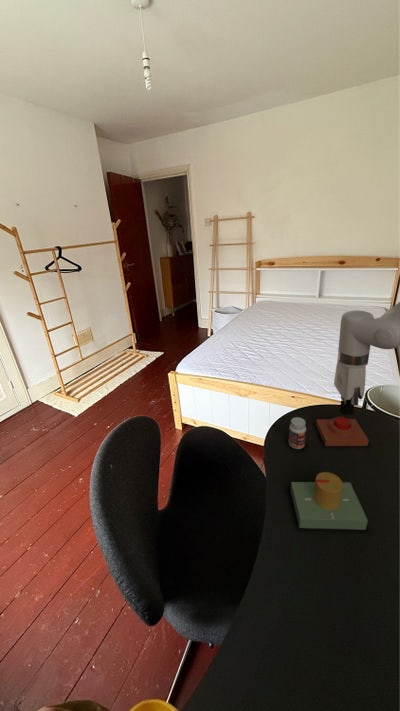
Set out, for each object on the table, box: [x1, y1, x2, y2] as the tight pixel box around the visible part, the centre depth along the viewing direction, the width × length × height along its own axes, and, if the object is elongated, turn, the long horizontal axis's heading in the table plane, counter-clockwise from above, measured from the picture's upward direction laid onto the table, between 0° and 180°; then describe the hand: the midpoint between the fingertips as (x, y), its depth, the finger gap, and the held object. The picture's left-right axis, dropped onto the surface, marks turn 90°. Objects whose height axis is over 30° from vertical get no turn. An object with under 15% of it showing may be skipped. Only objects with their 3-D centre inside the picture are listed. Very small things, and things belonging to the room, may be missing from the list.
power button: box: [335, 416, 350, 429], centre depth 90 cm, size 4×4×2 cm
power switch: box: [315, 417, 370, 447], centre depth 91 cm, size 12×10×4 cm
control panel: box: [290, 481, 369, 531], centre depth 69 cm, size 14×10×3 cm
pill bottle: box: [288, 416, 307, 450], centre depth 88 cm, size 5×5×8 cm
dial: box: [314, 471, 343, 510], centre depth 67 cm, size 6×6×6 cm
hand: (346, 413), depth 88 cm, fingers closed
